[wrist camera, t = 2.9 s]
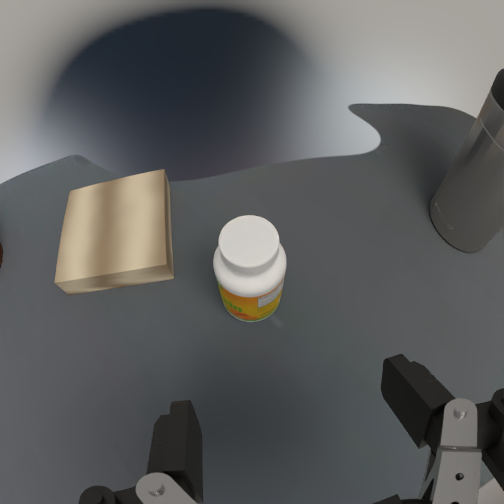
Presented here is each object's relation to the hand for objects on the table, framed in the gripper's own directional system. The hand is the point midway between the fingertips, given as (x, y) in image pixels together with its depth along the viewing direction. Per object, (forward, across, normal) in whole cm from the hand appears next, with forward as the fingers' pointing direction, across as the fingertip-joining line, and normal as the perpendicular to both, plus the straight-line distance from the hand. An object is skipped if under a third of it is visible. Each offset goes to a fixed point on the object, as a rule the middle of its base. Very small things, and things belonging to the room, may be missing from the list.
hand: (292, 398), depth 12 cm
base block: (+24, +13, -4) cm, 27 cm away
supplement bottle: (+18, 0, +3) cm, 18 cm away
